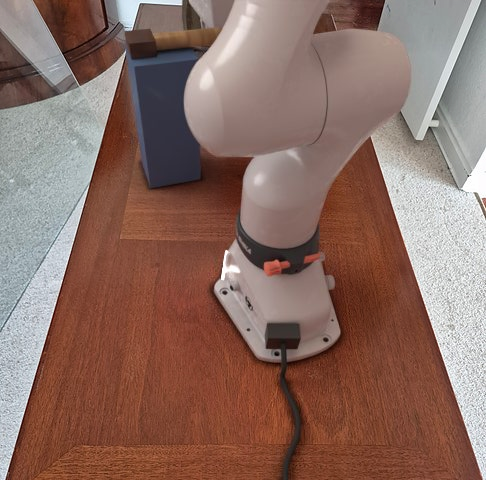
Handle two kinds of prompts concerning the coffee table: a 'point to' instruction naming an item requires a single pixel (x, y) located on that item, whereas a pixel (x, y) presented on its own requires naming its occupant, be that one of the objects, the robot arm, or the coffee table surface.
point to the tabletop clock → (190, 18)
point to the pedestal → (164, 116)
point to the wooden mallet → (167, 40)
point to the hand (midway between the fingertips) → (208, 43)
